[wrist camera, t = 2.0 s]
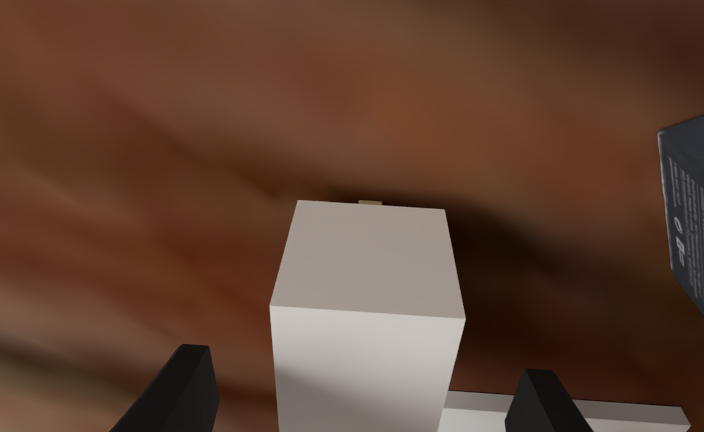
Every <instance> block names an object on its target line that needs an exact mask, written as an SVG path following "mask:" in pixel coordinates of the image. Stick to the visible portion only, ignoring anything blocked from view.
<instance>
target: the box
mask: <svg viewBox="0 0 704 432" xmlns="http://www.w3.org/2000/svg"><path fill="white" fill-rule="evenodd" d="M658 145H659V150H660V163H661V165H660V168H661V174H662V184H663V189H662V190H663V195H664V201H665V214H666V222H667V230H668V239H669V248H670V258H671V269H672V271H673V274H674V276H675V278H676V280H677V281H678V283H679V284H680V286H681V287H682V288H683V289H684V290H685V292H686V293H687V295H688V296H689V297H690V298H691V300H692V301H693V302H694V304H695V305H696V306H697V308H698V309H699V310H700V311H701V312H702V314H703V315H704V116H701V117H698V118H695V119H692V120H689V121H686V122H683V123H680V124H677V125H675V126H672V127H669V128H666V129H663V130H661V131H659V133H658Z"/></svg>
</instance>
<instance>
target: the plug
mask: <svg viewBox="0 0 704 432" xmlns="http://www.w3.org/2000/svg"><path fill="white" fill-rule="evenodd" d="M270 316H271V329H272V342H273V355H274V368H275V381H276V394H277V407H278V420H279V432H437V431H438V427H439V423H440V419H441V415H442V411H443V407H444V403H445V399H446V395H447V391H448V387H449V383H450V379H451V375H452V371H453V368H454V364H455V360H456V356H457V352H458V348H459V344H460V340H461V336H462V332H463V328H464V324H465V320H466V317H465V312H464V307H463V302H462V297H461V292H460V286H459V281H458V276H457V271H456V266H455V261H454V255H453V250H452V245H451V240H450V235H449V229H448V224H447V219H446V214H445V209H430V208H414V207H398V206H383V205H382V202H379V201H363V200H359V203H358V204H351V203H335V202H320V201H304V200H298V201H297V205H296V209H295V213H294V216H293V220H292V224H291V228H290V231H289V235H288V239H287V243H286V246H285V250H284V254H283V258H282V261H281V265H280V269H279V273H278V276H277V280H276V284H275V288H274V291H273V295H272V299H271V303H270Z"/></svg>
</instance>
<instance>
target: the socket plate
mask: <svg viewBox="0 0 704 432" xmlns="http://www.w3.org/2000/svg"><path fill="white" fill-rule="evenodd" d="M513 398H514V395H501V394H487V393H472V392H458V391H447V395H446V399H445V403H444V407H443V411H442V415H441V419H440V423H439V427H438V431H437V432H506V430H505V422H504V421H505V418H506V415H507V413H508V410H509V408H510V405H511V403H512V400H513ZM573 402H574V403H575V405H576V406H577V408H578V409H579V411H580V412H581V414H582V415H583V417H584V418H585V419H586V421H587V422H588V424H589V425H590V427H591V428H592V430H593V431H594V432H687V430H688V429H689V428H690V426H691V425H690V423H689V421H688V419H687V418H686V416H685V414H684V412H683V411H682V409H681V407H671V406H657V405H643V404H629V403H615V402H600V401H586V400H573Z"/></svg>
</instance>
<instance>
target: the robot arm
mask: <svg viewBox="0 0 704 432" xmlns="http://www.w3.org/2000/svg"><path fill="white" fill-rule="evenodd" d="M218 404H219V395H218V390H217V384H216V379H215V374H214V369H213V364H212V359H211V353H210V348H209V346H205V345H191V344H182V345H181V346H179V347H178V349H177V350H176V351H175V353H174V354H173V355H172V356H171V358H170V359H169V360H168V362H167V363H166V364H165V365H164V367H163V368H162V369H161V371H160V372H159V373H158V374H157V376H156V377H155V378H154V379H153V381H152V382H151V383H150V384H149V386H148V387H147V388H146V389H145V390H144V392H143V393H142V394H141V395H140V396H139V398H138V399H137V400H136V401H135V402H134V404H133V405H132V406H131V407H130V408H129V409H128V411H127V412H126V413H125V414H124V415H123V416H122V418H121V419H120V420H119V421H118V422H117V423H116V425H115V426H114V427H113V428H112V429H111V430H110V431H109V432H212V429H213V425H214V421H215V417H216V412H217V408H218ZM504 422H505V430H506V432H594V431H593V430H592V428H591V427H590V425H589V424H588V422H587V421H586V419H585V418H584V417H583V415H582V414H581V412H580V411H579V409H578V408H577V406H576V405H575V403H574V402H573V400H572V399H571V397H570V396H569V394H568V393H567V391H566V390H565V388H564V387H563V385H562V384H561V382H560V381H559V379H558V378H557V376H556V375H555V373H554V372H553V371H551V370H537V369H524V372H523V374H522V377H521V380H520V382H519V385H518V387H517V390H516V392H515V395H514V398H513V400H512V403H511V405H510V408H509V410H508V413H507V415H506V418H505V421H504Z"/></svg>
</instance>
